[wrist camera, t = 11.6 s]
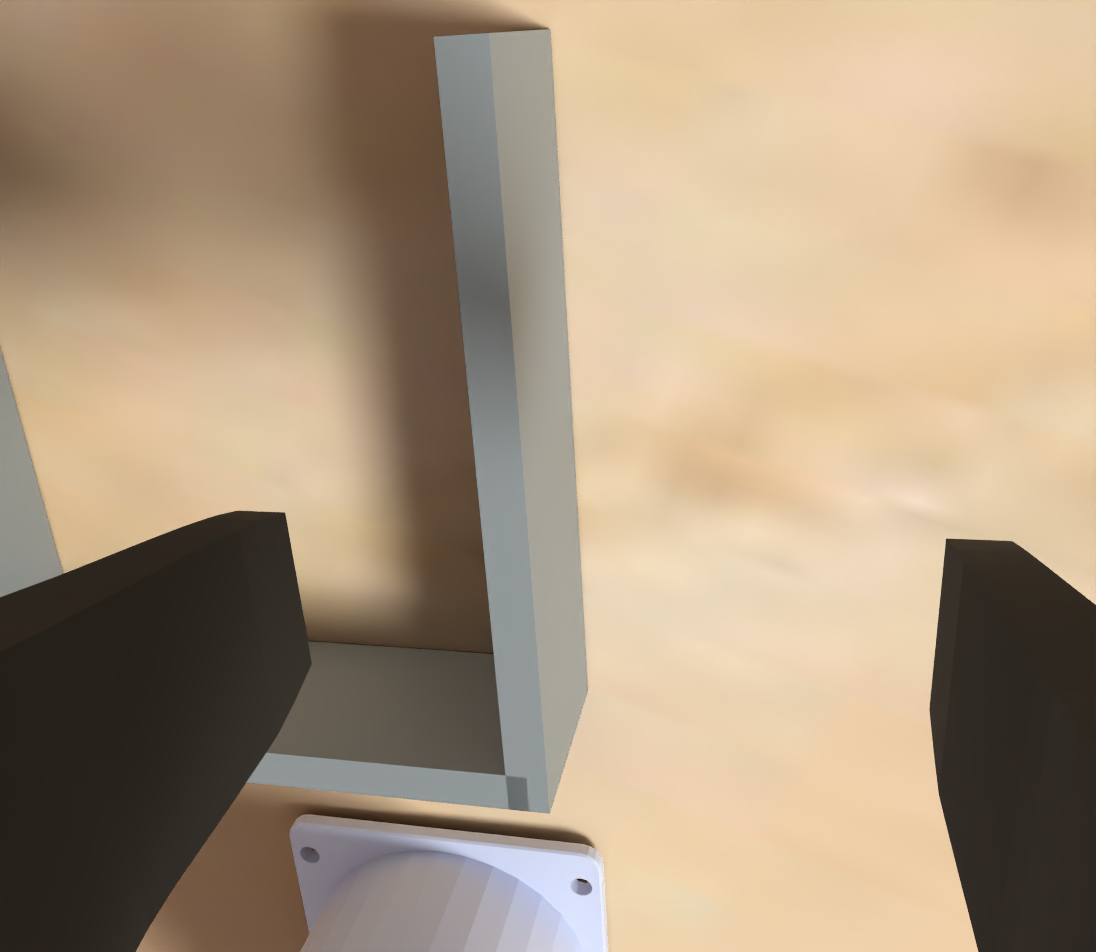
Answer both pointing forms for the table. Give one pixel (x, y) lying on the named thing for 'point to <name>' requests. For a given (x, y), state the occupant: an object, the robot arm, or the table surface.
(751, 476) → the table surface
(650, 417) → the table surface
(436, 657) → the open side box
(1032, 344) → the table surface
